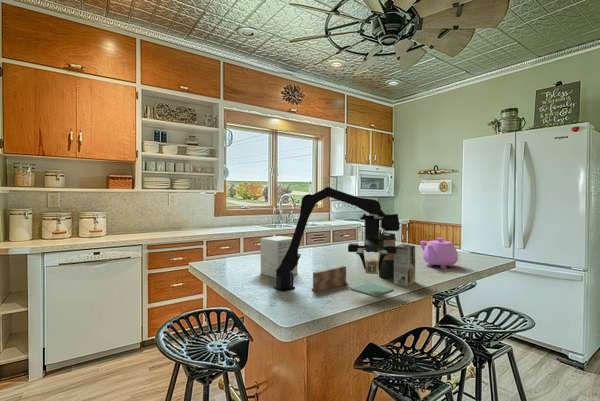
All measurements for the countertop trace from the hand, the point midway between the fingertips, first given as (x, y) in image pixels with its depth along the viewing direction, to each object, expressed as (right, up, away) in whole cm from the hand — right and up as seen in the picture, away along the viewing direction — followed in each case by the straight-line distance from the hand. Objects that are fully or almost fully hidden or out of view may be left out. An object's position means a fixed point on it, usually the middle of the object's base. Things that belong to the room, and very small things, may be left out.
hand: (371, 269), depth 127 cm
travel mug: (+12, -8, +21) cm, 25 cm away
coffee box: (+17, -8, +10) cm, 21 cm away
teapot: (+44, -8, +43) cm, 62 cm away
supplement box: (-39, -8, +27) cm, 48 cm away
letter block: (0, -1, 0) cm, 1 cm away
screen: (-16, -8, +4) cm, 19 cm away
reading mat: (0, -8, 0) cm, 8 cm away
